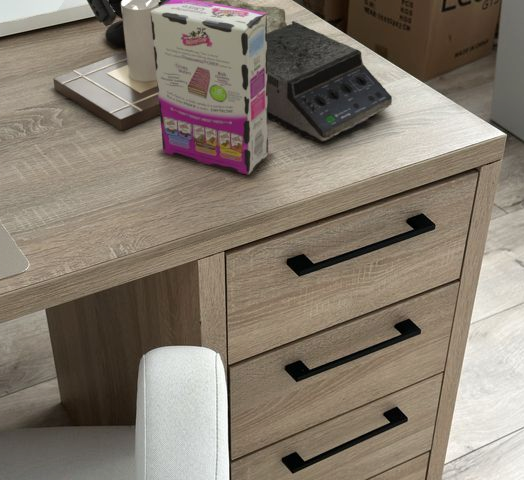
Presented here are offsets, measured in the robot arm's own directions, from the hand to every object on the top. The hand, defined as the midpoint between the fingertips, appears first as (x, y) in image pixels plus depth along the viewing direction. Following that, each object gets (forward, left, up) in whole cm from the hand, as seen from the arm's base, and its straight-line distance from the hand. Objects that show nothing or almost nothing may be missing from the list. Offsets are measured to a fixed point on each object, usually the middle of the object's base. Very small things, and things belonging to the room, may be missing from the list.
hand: (141, 12), depth 112 cm
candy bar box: (-4, -18, -10) cm, 21 cm away
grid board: (0, 0, -9) cm, 9 cm away
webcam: (+7, +12, -10) cm, 17 cm away
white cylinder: (0, 0, -8) cm, 8 cm away
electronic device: (+11, -17, -10) cm, 22 cm away
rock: (+16, +1, -10) cm, 19 cm away
